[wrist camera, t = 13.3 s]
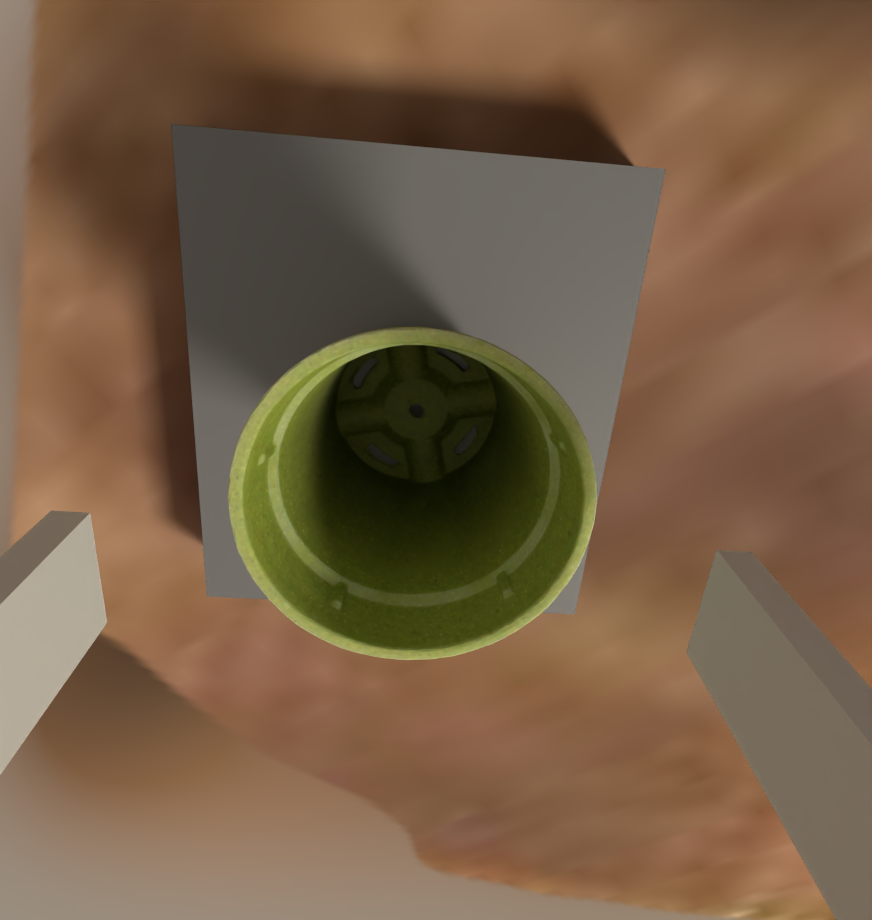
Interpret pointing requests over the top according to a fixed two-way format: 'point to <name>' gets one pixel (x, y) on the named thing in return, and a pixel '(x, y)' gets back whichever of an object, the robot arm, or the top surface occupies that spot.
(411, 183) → the board
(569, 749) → the top surface
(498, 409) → the plant pot
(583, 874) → the top surface
